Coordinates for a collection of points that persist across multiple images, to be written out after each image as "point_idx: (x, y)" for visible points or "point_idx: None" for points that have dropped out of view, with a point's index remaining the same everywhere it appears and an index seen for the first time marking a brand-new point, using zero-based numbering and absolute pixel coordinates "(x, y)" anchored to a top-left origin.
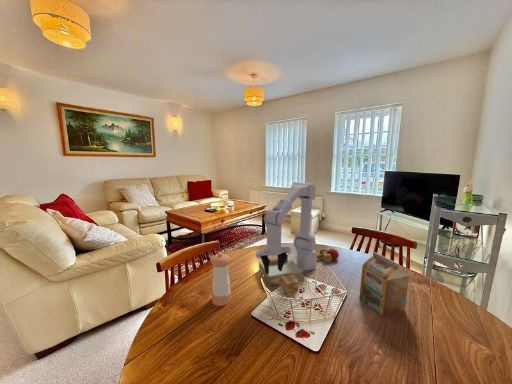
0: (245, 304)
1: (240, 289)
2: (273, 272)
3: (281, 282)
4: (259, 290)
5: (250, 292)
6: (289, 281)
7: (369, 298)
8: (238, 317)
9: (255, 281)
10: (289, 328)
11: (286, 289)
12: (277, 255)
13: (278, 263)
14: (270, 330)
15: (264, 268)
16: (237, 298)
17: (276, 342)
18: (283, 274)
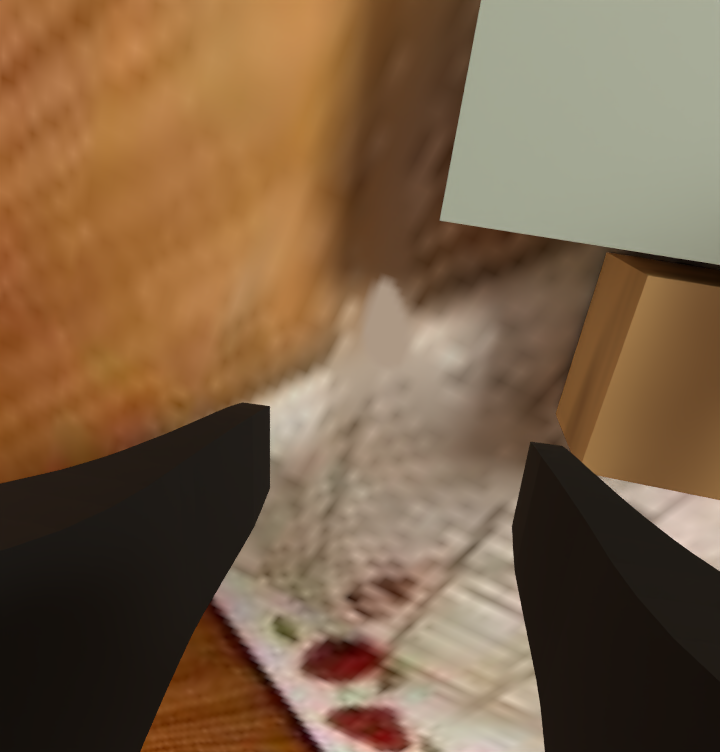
0: (109, 362)
1: (101, 109)
2: (581, 138)
3: (615, 260)
4: (300, 229)
5: (195, 218)
6: (647, 442)
7: None
8: (38, 459)
9: (329, 4)
10: (322, 673)
11: (567, 405)
12: (658, 642)
13: (562, 529)
14: (208, 631)
15: (202, 424)
16: (52, 252)
17: (208, 693)
18: (709, 261)
